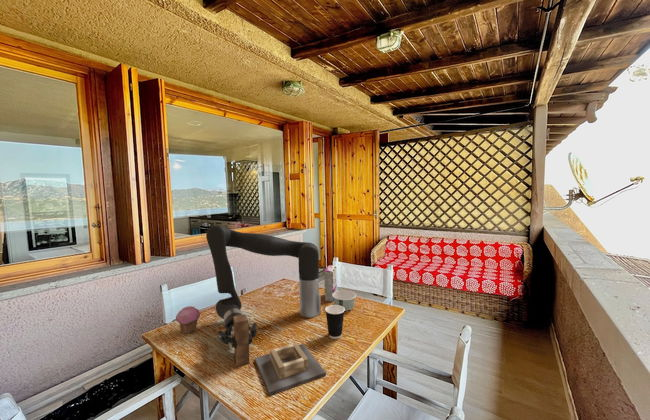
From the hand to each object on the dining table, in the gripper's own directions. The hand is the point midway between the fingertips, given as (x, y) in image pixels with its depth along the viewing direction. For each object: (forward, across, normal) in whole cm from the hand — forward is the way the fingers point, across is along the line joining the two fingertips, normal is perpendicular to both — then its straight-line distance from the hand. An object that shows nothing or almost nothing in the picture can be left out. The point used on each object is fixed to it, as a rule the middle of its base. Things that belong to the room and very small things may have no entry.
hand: (242, 343), depth 89 cm
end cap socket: (+8, +13, +8) cm, 17 cm away
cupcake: (-34, -16, +8) cm, 38 cm away
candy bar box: (-37, +53, +8) cm, 65 cm away
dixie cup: (-2, +36, +8) cm, 37 cm away
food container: (-23, +53, +8) cm, 58 cm away
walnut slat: (-3, 0, +8) cm, 8 cm away
